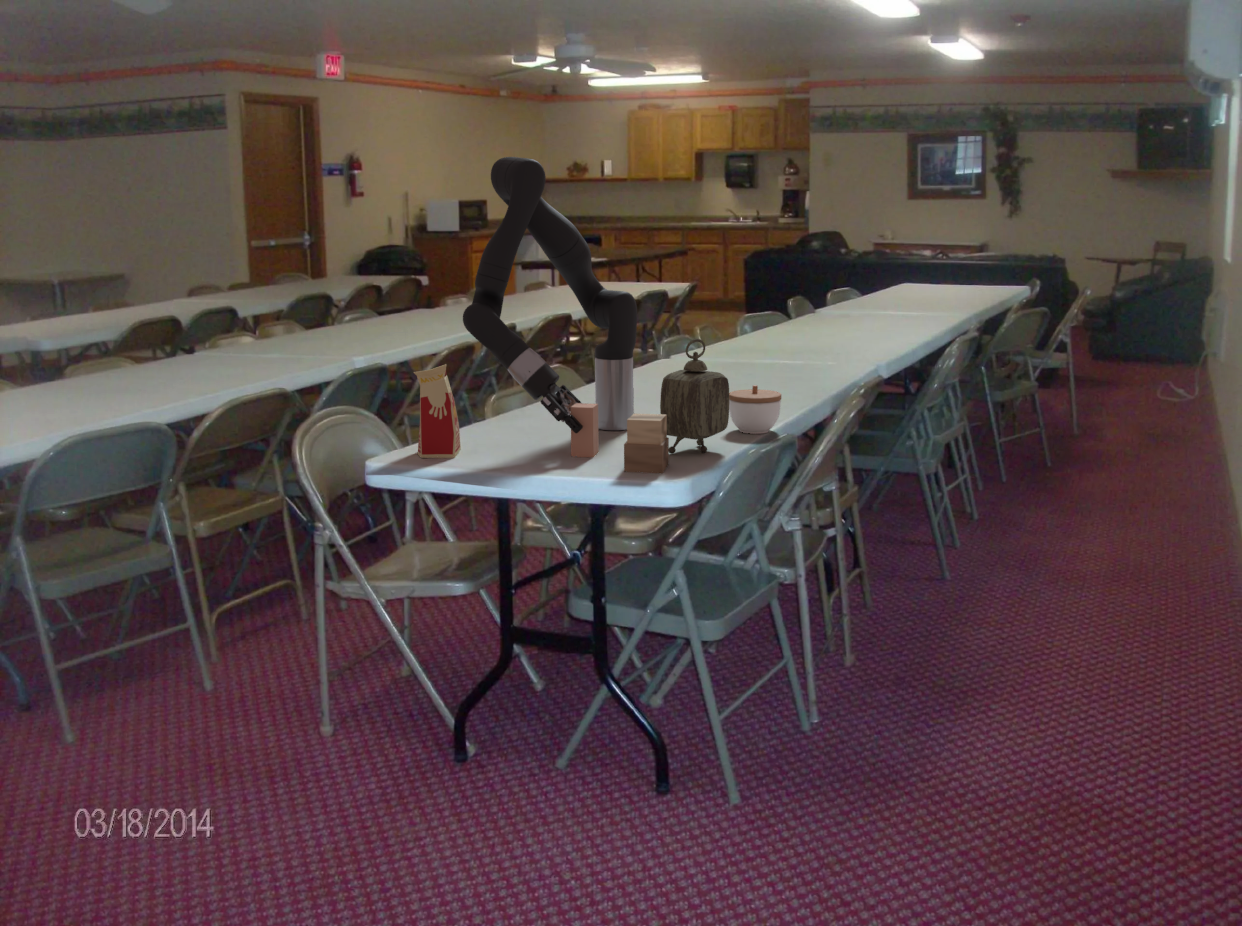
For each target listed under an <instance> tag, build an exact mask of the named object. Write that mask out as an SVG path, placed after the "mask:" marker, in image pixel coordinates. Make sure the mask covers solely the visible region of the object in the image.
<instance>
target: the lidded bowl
mask: <svg viewBox="0 0 1242 926" xmlns="http://www.w3.org/2000/svg"><path fill="white" fill-rule="evenodd" d="M758 388H759V387H758V385H757V384H756V385H755V384H754V385H752V389H738V390H733V391H729V418H731V421H732V424H733V425H734V426H735V427H736V428H737V429H738V430H739V433H742V432H743V433H742V434H748V433H750V435H758V434H768V433H769V432H770V430H771V429H772V428H773V427H774V426H775V425H776V423H777V422H778V420H779V417H780V413H781V406H782V405H781V403H782V393H781V392H779V391H775V390H772V389H771V390H769V389H758Z"/></svg>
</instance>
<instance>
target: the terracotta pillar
mask: <svg viewBox="0 0 1242 926" xmlns="http://www.w3.org/2000/svg"><path fill="white" fill-rule="evenodd" d="M570 413H571V415H573V416H574V417H575V418H576V419H577V420H578V421H579V422H580V423H581V424H582V425H583V428H582V429H581V430H580V431H579V432H578V433H574V431H573V430H572V429H571V428H570V446H571V447H570V450H571V451H570V453H571V456H573V458H593V457H594V456H595V455H596V454H597V453H598V452H599V450H600V449H599V447H600V445H599V443H600V440H599V429H598V404H596V403H589V402H587V403H584V402H581V403H576V404H574V405H573V406H571V412H570ZM571 415H570V416H571ZM598 454H599V453H598ZM598 454H597V455H598ZM597 455H596V456H597ZM575 456H577V457H575ZM596 456H595V457H596ZM595 457H594V458H595Z"/></svg>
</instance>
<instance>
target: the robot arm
mask: <svg viewBox="0 0 1242 926" xmlns="http://www.w3.org/2000/svg"><path fill="white" fill-rule="evenodd" d="M546 177H547V176H546V171H545V170H544V167H543V165H542V164H541V163H540V162H539V161H537V160H536V159H532V158H527V157H518V156H505V157H502V158H499V159H498V160H495V162H494V163H493V165H492V167H491V170H490V180H491V185H492V188H493V190H494V191H495V193H496V195H498V197H499V198H500V199H501V200H502V201H503V202H504V203H505V204H506V205H507V209H506V213H505V214H504V216H503V219H502V220H501V223H500V225H499V226H498V228H497V229H496V230H495V232H494V233H493V235H492V236H491V238H490V239H489V241H488V242H487V244H486V246H485V247H484V249H483V252H482V255H481V256H480V257H481V258H480V261H479V264H478V268H477V272H476V276H475V281H474V287H475V291H474V294H473V298H472V303H471V304H470V305H468V306H467V307H465V309H464V311H463V313H462V323H463V326H464V328H465V329H466V330H467V331H468V332H469V334H471V336H472V337H474V338H475V340H477V342H479V343H480V344H481V345H483V347H485V348H486V349H487V350H488V351H490V353H491V354H492V355H493V356H494V358H496V360H497V361H498V362H499V363H500V364H501V365H502V366H503V367H504V368H505V369H506V370H507V371H508V373H509V374H510V375H511V377H512V378H513V379H514V380H515V381H516V382H517V384H519V385H520V386H521V387H522V389H524V391H525V392H526V393H528V394H529V396H530V397H531V398H532V399H533V400H535V401H537V400H539V399H541V398H542V399H541V400H540V404H541V405H542V406H543V407H544V408H545V409H546V410H547V412H549V414H550V415H551V416H552V417H553V418H554V419H555V420H556V421H557V422H560V421H561V422H562V423H565V424H566V425H567V427H569V428H570V430H571V429H572V430H573V431H574V433H578V432H579V431H580V430H581V429H582V428H583V425H582V424H581V423H580V422H579V421H578V420H577V419H576V418H575V417H574V416H573V415H571V406H573V405H574V404H576V403H582V401H581V400H580V399H578V398H577V396H576V395H574V393H573V392H571V390H570V389H569V388H568V387H567V386H566V385H565V384H562V385H561V386H559V385H558V384H557V382H558V381H559V380H560V375H559V374H558V373H557V372H556V371H555V370H554V369H553V368H552V367H551V366H550V364H548V362H546V361H545V359H544V358H542V357H541V355H540V354H539V353H537V352H536V351H535V350H533V349H532V348H531V347H530V346H529V345H528V343H526V342H525V341H524V340H523V339H522V338H521V336H519V335H518V334H517V333H516V332H515V331H513V330H511V329H510V328H509V327H508V325H507V324H506V323H505V322H504V321H503V320H502V319H501V316H502V310H503V303H504V298H505V292H506V291H507V290H506V289H507V287H508V283H509V280H510V276H511V273H512V271H513V265H514V263H515V259H516V256H517V253H518V250H519V247H520V244H521V241H522V240H523V237H524V235H525V232H526V231H528V232H529V234H530V235H531V236H532V238H533V239H534V241H536V243H537V244H538V245H539V247H540V248H541V250H542V252H544V254H545V255H546V257H547V258H548V260H549V261H550V262H551V264H552V265H553V266H554V268H555V269H556V270H557V272H558V273H559V274H560V276H561V277H562V278H563V280H564V282H566V284H567V286H568V287H569V288H570V290H572V293H573V294H574V295H575V297H576V299H577V301H578V303H579V305H580V306H581V307H582V309H583V311H584V313H585V315H586V316H587V318H588V320H589V321H590V322H591V323H592V325H594V326H595V327H598V328H600V329H608V331H607V333H608V335H607V337H606V340H605V341H603V342H602V343H599V344H597V345H596V346H595V348H594V371H595V372H594V375H595V377H594V380H595V383H594V385H595V387H594V388H595V392H594V394H595V395H594V396H595V404H598V430H603V431H625V430H626V431H627V419H628V418H629V417H631V416H632V415H633V414H635V413H634V412H635V408H634V406H635V404H634V402H635V401H634V399H635V395H634V350H635V347H636V345H637V344H636V343H637V326H638V325H637V324H638V306H637V302H636V300H635V297H634V296H633V294H631V293H630V292H628V291H624V290H611V289H610V290H609V289H607V288H605V287H604V286H603V285H602V283H600V282H599V280H598V278H597V277H596V276H595V274H594V272H593V269H592V254H591V253H592V252H591V249H590V246H589V244H588V242H587V241H586V239H585V238H584V237H583V235H582V234H581V232H580V231H579V230H578V228H577V227H576V225H574V224H573V223H572V222H571V221H570V220H569V219H568V218H567V217H565V216H564V215H563V214H562V213H560V212H559V211H558V210H557V209H555V208H554V207H553V206H552V205H550V204H549V203H548V202H547V201H546V200H545V199H544V198H543V197H542V195H543V192H544V189H545V186H546V180H547V179H546Z"/></svg>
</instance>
